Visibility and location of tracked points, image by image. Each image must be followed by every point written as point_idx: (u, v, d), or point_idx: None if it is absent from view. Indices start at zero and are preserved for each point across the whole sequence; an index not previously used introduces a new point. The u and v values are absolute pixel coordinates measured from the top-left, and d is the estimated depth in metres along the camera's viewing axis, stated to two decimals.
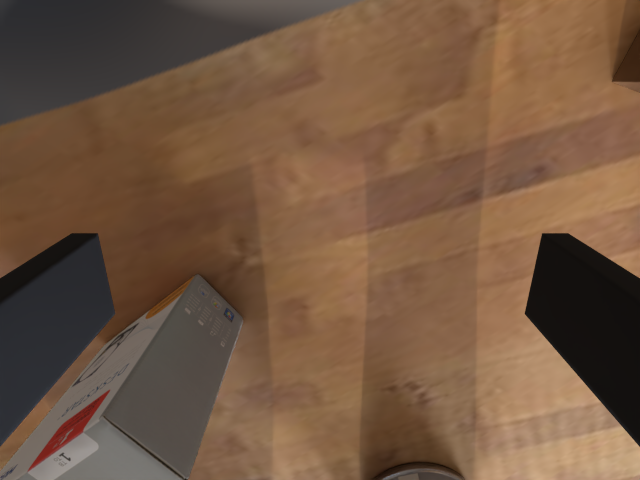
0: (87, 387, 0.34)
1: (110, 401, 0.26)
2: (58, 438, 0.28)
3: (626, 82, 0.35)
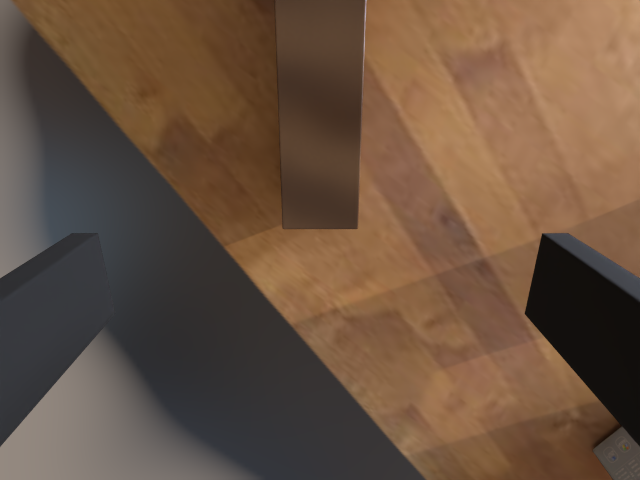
0: None
1: None
2: None
3: None
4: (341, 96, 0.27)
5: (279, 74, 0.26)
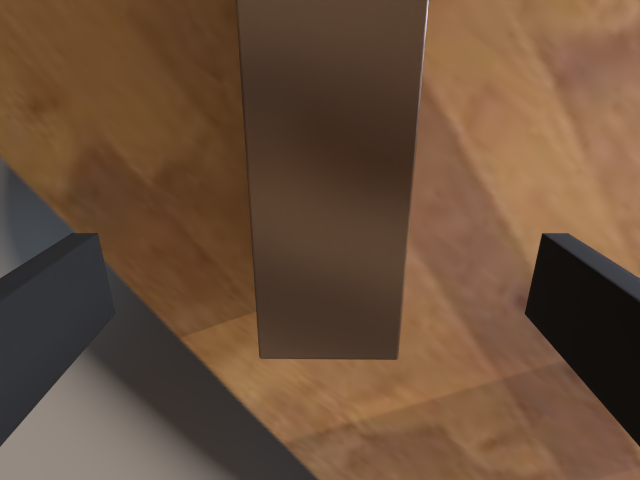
0: None
1: None
2: None
3: None
4: (375, 120, 0.13)
5: (245, 74, 0.12)
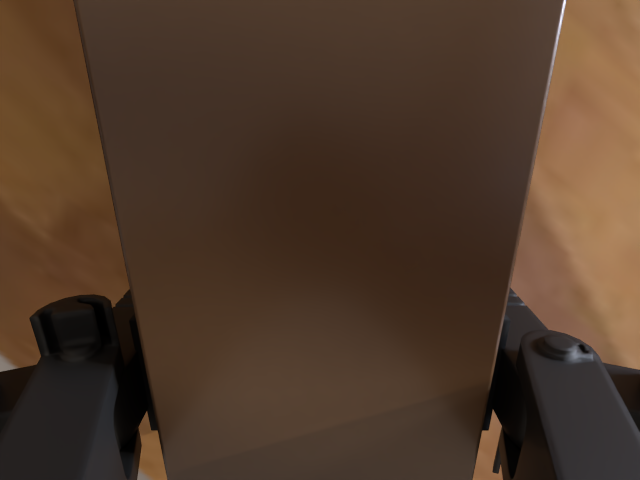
0: None
1: None
2: None
3: None
4: (428, 174, 0.05)
5: (95, 61, 0.05)
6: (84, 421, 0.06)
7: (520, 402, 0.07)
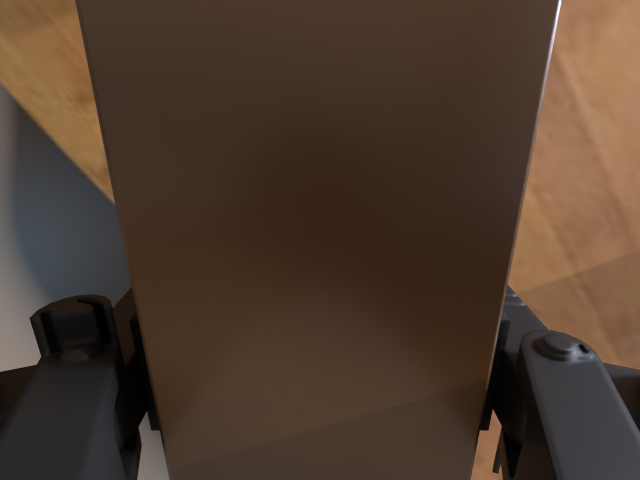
0: None
1: None
2: None
3: None
4: (426, 172, 0.05)
5: (97, 61, 0.05)
6: (84, 421, 0.06)
7: (520, 402, 0.07)
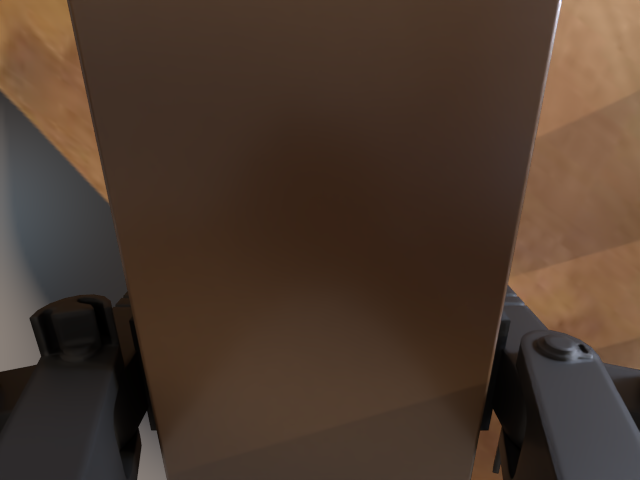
0: None
1: None
2: None
3: None
4: (424, 172, 0.05)
5: (90, 59, 0.05)
6: (84, 421, 0.06)
7: (520, 402, 0.07)
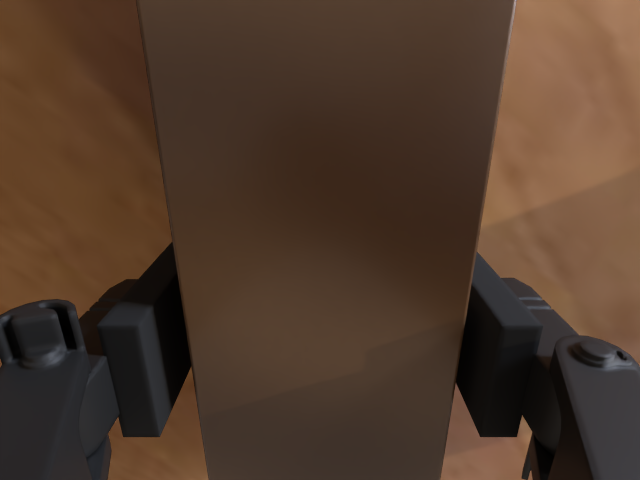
0: None
1: None
2: None
3: None
4: (411, 145, 0.07)
5: (153, 56, 0.06)
6: (46, 428, 0.05)
7: (553, 408, 0.07)
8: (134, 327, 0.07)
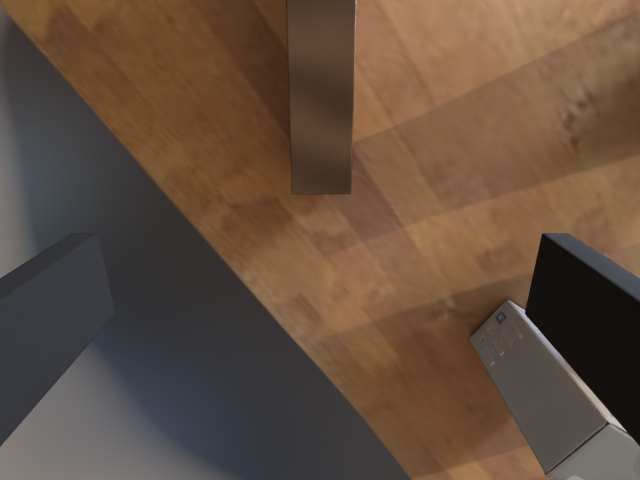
0: None
1: None
2: None
3: None
4: (337, 89, 0.35)
5: (290, 72, 0.34)
6: None
7: None
8: None
